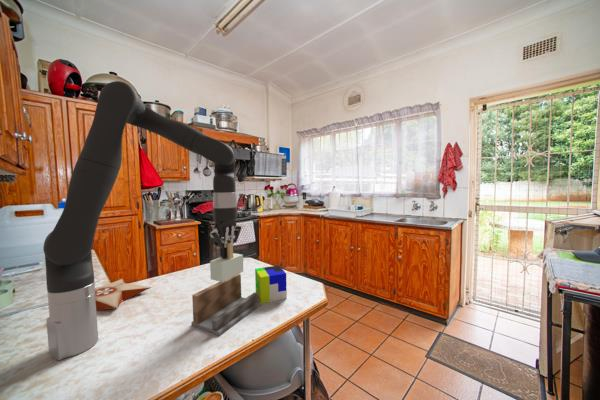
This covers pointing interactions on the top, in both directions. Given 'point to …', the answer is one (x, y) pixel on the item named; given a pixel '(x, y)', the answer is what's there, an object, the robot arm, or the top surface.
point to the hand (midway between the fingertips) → (226, 257)
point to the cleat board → (222, 306)
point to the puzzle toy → (270, 284)
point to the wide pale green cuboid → (226, 265)
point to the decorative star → (116, 294)
